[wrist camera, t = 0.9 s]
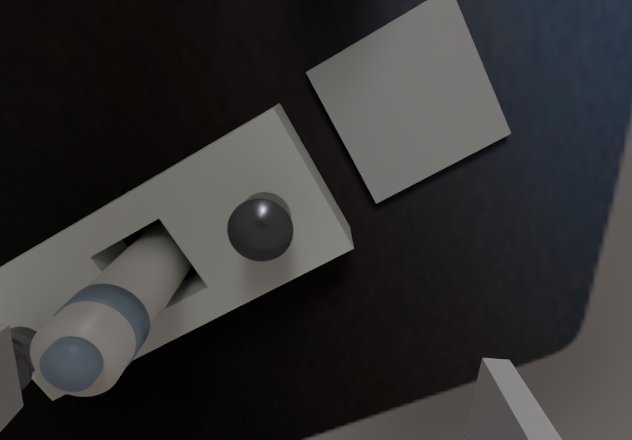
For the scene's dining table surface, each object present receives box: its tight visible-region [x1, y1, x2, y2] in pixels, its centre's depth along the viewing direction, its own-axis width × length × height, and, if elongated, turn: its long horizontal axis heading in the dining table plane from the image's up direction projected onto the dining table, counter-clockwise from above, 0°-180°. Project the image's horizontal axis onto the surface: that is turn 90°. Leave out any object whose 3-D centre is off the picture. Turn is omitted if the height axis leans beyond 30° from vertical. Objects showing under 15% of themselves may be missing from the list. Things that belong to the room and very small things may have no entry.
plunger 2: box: [227, 192, 293, 262], centre depth 29 cm, size 4×4×3 cm
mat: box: [306, 0, 511, 204], centre depth 35 cm, size 12×12×1 cm
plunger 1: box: [10, 326, 37, 390], centre depth 33 cm, size 4×4×3 cm
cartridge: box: [30, 222, 192, 397], centre depth 31 cm, size 5×5×17 cm
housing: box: [0, 103, 354, 401], centre depth 37 cm, size 12×30×5 cm, turn 119°
